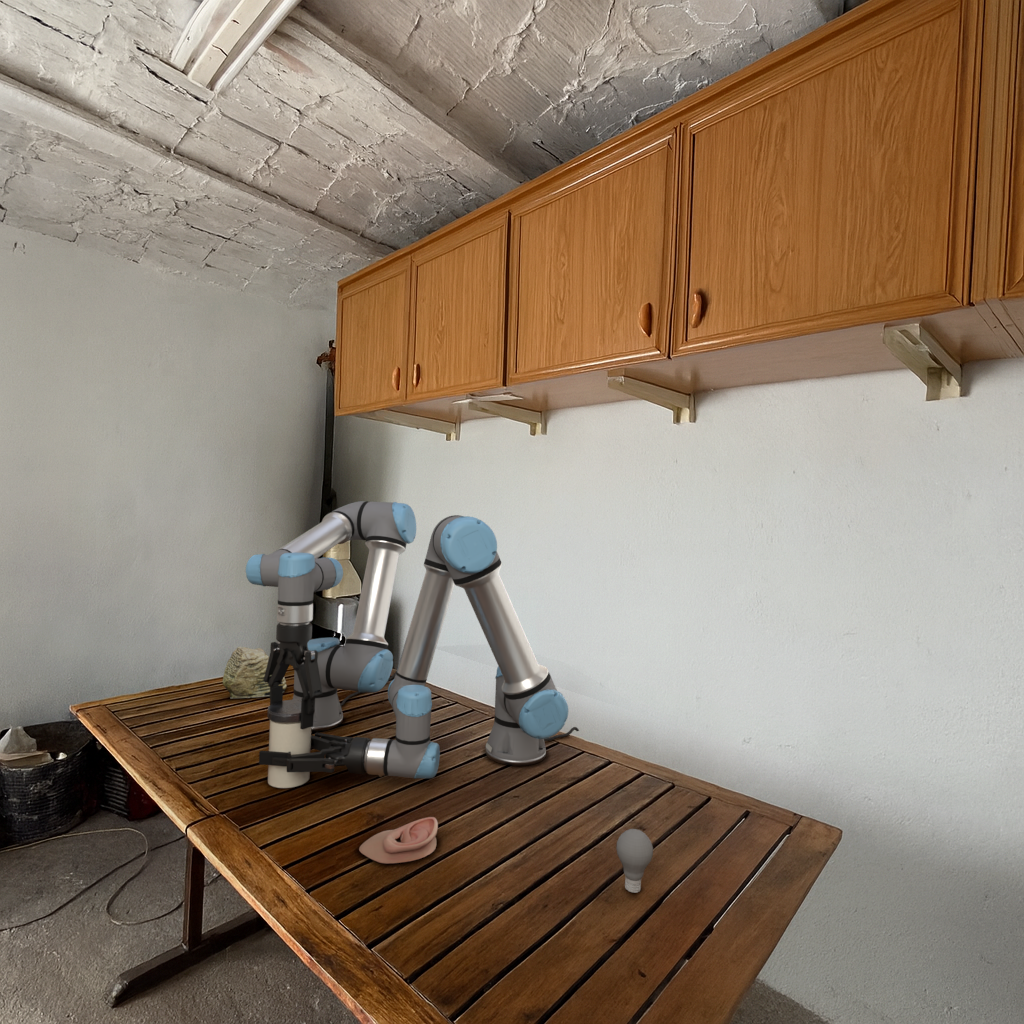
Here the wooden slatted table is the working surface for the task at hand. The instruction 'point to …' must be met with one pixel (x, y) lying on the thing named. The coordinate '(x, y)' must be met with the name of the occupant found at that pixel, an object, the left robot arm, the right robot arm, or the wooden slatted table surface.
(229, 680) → the fossil
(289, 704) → the lid
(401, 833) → the anatomical model
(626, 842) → the light bulb
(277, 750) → the jar
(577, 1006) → the wooden slatted table surface
